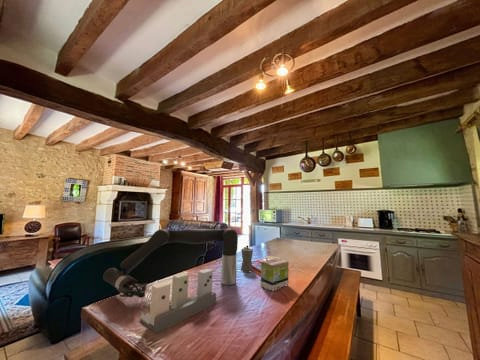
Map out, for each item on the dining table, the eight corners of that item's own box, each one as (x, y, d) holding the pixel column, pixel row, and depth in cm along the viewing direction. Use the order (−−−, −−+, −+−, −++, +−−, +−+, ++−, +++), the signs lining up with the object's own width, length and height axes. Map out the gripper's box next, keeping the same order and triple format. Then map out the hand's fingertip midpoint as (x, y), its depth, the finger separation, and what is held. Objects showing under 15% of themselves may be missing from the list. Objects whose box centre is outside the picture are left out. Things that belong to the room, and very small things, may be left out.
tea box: (273, 292, 113) (273, 265, 115) (260, 286, 120) (260, 261, 122) (288, 285, 123) (288, 261, 124) (276, 281, 130) (276, 257, 132)
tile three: (196, 301, 98) (198, 271, 100) (206, 296, 103) (207, 268, 104) (202, 304, 95) (204, 273, 97) (212, 299, 100) (213, 270, 102)
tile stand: (140, 320, 83) (141, 307, 84) (198, 295, 107) (199, 285, 107) (156, 333, 75) (157, 319, 75) (215, 303, 99) (216, 292, 99)
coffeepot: (255, 272, 145) (255, 247, 148) (242, 273, 143) (243, 247, 146) (249, 266, 160) (250, 243, 162) (238, 266, 158) (238, 243, 160)
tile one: (149, 322, 80) (151, 285, 81) (163, 316, 84) (165, 281, 86) (154, 326, 77) (157, 288, 78) (168, 320, 81) (171, 284, 83)
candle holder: (281, 274, 143) (281, 257, 145) (277, 278, 134) (277, 260, 136) (268, 272, 147) (268, 255, 149) (264, 276, 138) (264, 258, 140)
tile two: (170, 307, 91) (172, 275, 93) (182, 303, 96) (183, 272, 97) (176, 311, 88) (178, 278, 90) (187, 306, 93) (189, 274, 95)
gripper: (138, 288, 105) (155, 298, 95) (110, 297, 95) (126, 309, 84) (140, 273, 106) (157, 282, 96) (112, 280, 96) (128, 290, 85)
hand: (142, 295), depth 90 cm, fingers closed
